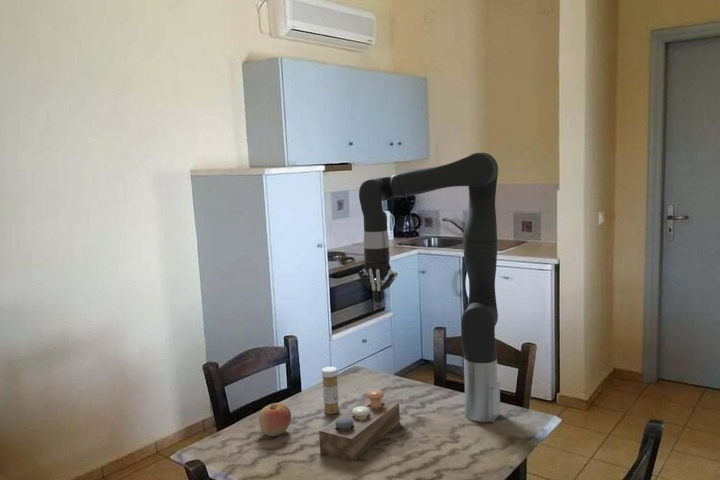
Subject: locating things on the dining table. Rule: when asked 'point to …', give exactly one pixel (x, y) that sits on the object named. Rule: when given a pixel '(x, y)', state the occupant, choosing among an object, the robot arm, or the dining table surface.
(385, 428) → the walnut block
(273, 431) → the apple
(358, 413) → the cream plug
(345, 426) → the charcoal plug
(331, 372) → the sprinkles bottle
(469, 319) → the robot arm
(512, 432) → the dining table surface
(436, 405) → the dining table surface
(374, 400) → the terracotta plug
